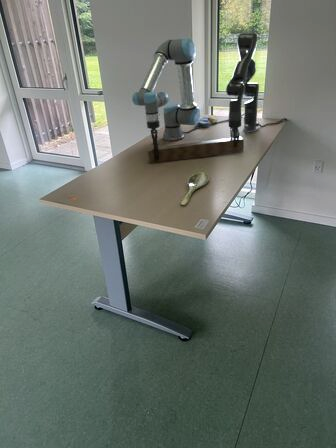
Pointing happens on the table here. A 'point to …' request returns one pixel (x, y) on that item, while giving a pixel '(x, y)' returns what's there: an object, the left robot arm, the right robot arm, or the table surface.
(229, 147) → the block
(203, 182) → the spoon
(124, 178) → the table surface
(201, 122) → the spray gun
